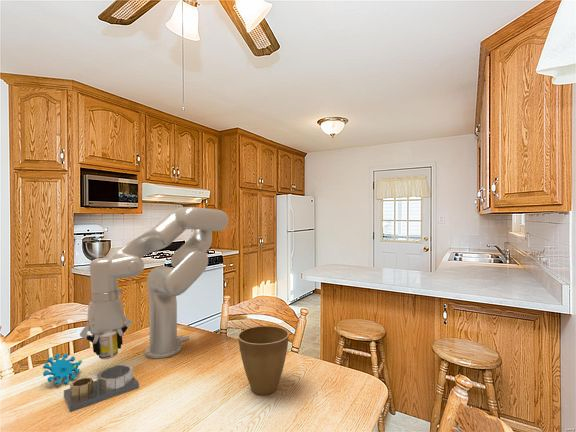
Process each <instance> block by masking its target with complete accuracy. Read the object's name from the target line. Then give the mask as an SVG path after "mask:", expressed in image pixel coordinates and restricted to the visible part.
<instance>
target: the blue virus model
mask: <svg viewBox="0 0 576 432" xmlns="http://www.w3.org/2000/svg"><path fill="white" fill-rule="evenodd" d="M60 357H61V354H60V353H56V354H55V355H54V357H53V356H50V357H49V358H47V359H46V361H47V362H45V364H44V365H43V366H42V368H43V369H45V370H44V371H43V372H42V376H43V377H47V376H49V377H48V378H47V379H46V380H47V381H48V383H51V382H53V380H56V379H57V380H56V381H55V382H54V385H56V386H59V385H60V384H61V383H62V379H64V381H63V384H64V385H68V384H69V383H70V380H71V381H75V380H76V379H77V375H78V374H79V373H80V371H81V369H80V368H79V366H81V364H83V360H81V359H79V360H78V361H76V362H74V361H75V360H76V357H75V356H73V355H72V356H71V357H70V358H69V359H67V358H68V357H69V354H68V353H64V354H63V356H62V359H60ZM54 359H55V361H54ZM69 376H70V379H69Z"/></svg>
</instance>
